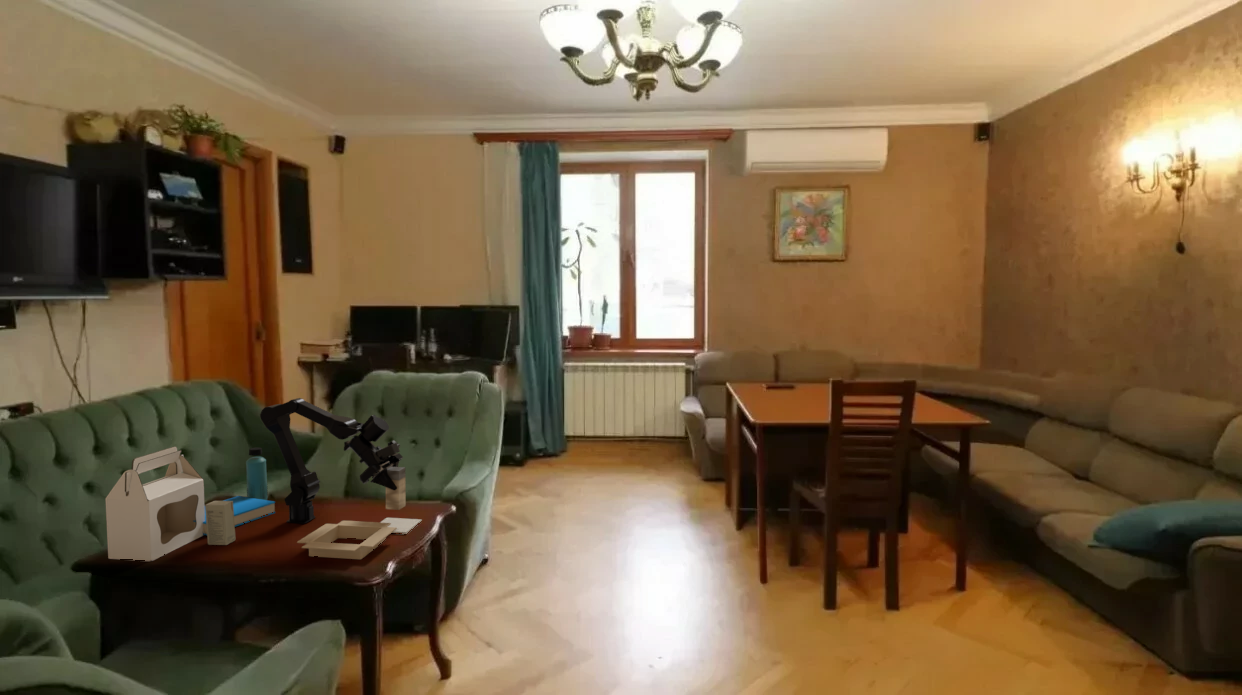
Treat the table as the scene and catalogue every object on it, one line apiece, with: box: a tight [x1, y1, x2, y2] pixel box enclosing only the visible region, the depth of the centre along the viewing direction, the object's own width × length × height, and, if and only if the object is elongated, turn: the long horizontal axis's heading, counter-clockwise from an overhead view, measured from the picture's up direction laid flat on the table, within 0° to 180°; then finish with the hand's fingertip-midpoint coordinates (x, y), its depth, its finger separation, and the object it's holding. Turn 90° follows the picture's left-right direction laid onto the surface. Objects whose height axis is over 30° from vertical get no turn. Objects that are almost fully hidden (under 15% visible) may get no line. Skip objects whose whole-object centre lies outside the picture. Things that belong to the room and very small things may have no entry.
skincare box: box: [204, 500, 236, 546], centre depth 210 cm, size 6×4×12 cm
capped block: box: [385, 466, 407, 511], centre depth 225 cm, size 4×4×12 cm
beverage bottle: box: [245, 447, 269, 500], centre depth 246 cm, size 6×7×20 cm
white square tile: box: [379, 517, 423, 535], centre depth 226 cm, size 12×12×1 cm
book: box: [193, 495, 276, 536], centre depth 229 cm, size 17×4×25 cm
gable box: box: [105, 446, 205, 562], centre depth 206 cm, size 22×13×28 cm, turn 173°
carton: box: [296, 520, 397, 560], centre depth 208 cm, size 23×23×4 cm
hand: (399, 487), depth 225 cm, fingers closed on capped block, 4 cm apart
